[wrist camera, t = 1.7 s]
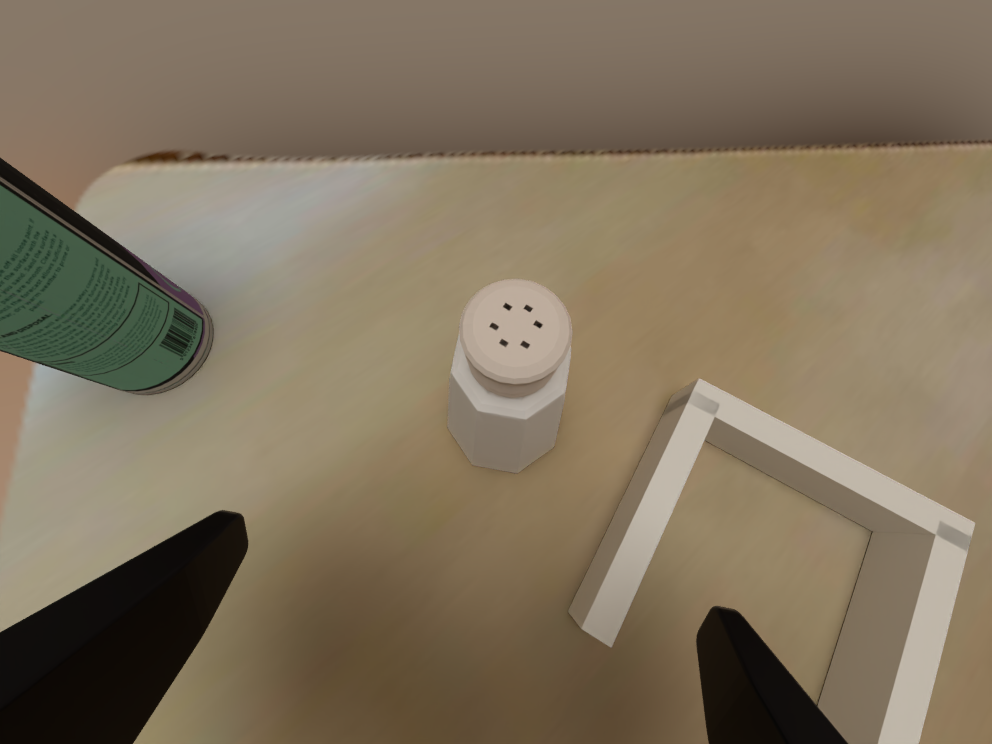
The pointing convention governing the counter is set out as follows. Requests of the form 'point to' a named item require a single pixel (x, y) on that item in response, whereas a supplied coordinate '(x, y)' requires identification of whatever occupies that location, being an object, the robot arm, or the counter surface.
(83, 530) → the counter surface
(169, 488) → the counter surface
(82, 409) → the counter surface
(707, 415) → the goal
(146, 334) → the spray can
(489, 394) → the pepper shaker
